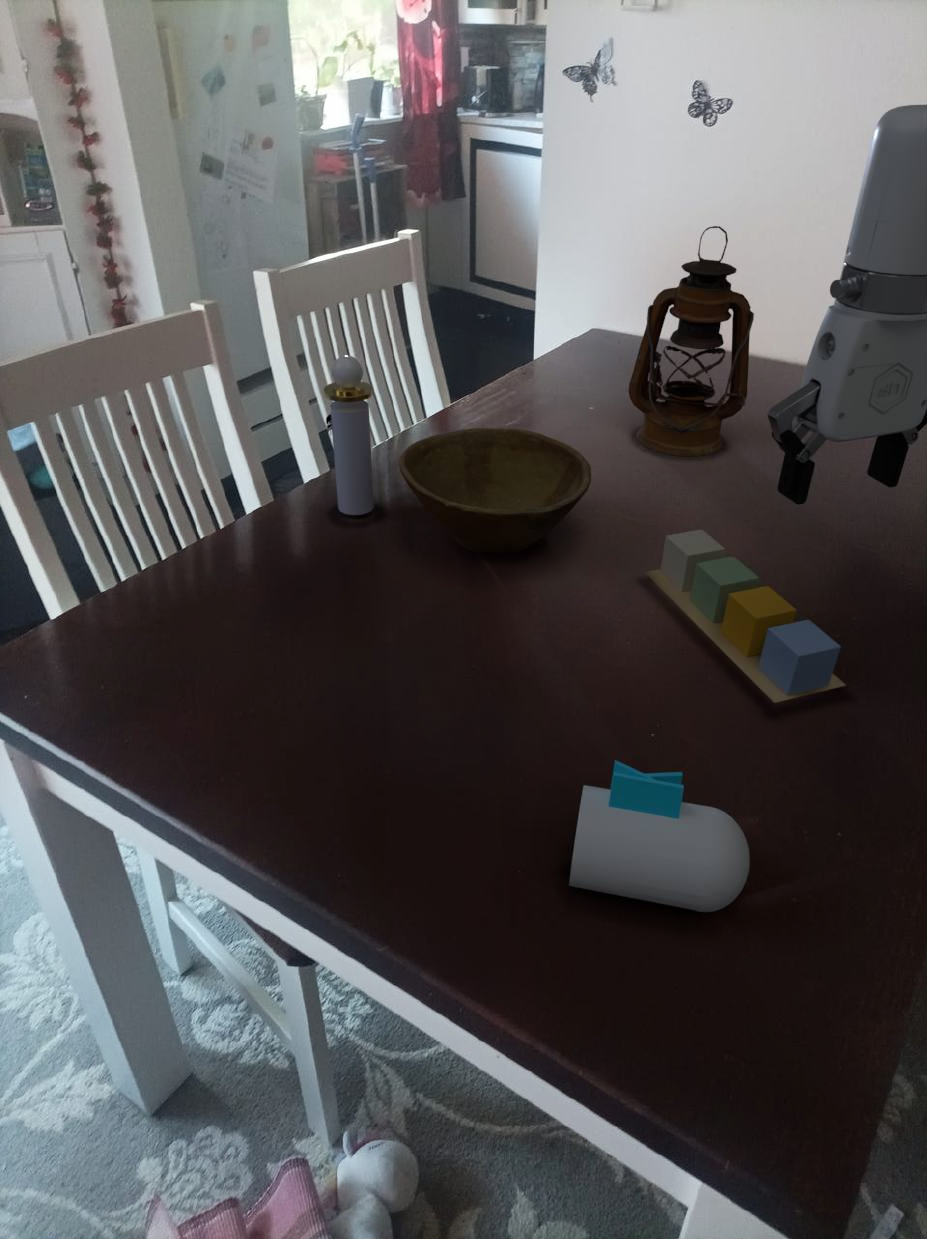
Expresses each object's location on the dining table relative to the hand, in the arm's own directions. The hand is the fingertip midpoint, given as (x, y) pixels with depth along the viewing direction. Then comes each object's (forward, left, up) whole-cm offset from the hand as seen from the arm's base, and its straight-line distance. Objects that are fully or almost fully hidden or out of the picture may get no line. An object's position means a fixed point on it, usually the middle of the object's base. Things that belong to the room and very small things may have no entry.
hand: (836, 489), depth 77 cm
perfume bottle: (+35, -43, -18) cm, 58 cm away
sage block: (+4, -8, -17) cm, 19 cm away
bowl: (+21, -31, -18) cm, 41 cm away
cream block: (+4, -14, -17) cm, 22 cm away
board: (+4, -5, -18) cm, 19 cm away
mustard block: (+4, -2, -17) cm, 17 cm away
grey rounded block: (+27, +19, -18) cm, 37 cm away
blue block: (+4, +5, -17) cm, 18 cm away
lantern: (-17, -51, -18) cm, 57 cm away
